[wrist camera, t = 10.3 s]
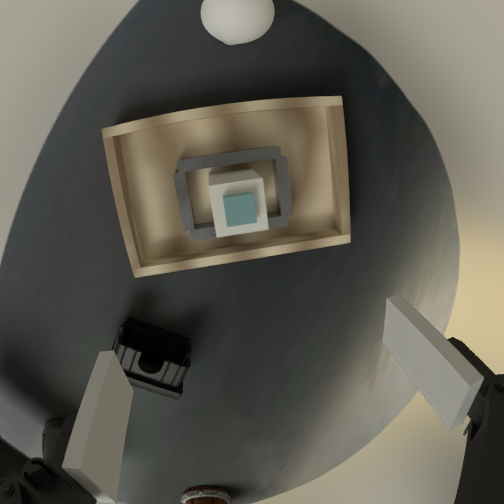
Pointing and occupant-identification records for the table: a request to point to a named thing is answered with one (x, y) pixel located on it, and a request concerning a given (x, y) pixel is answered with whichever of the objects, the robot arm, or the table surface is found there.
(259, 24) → the lightbulb
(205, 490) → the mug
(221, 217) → the white block teal patch
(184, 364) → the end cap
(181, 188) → the grey rectangular frame
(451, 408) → the robot arm
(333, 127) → the birch box
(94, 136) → the table surface
